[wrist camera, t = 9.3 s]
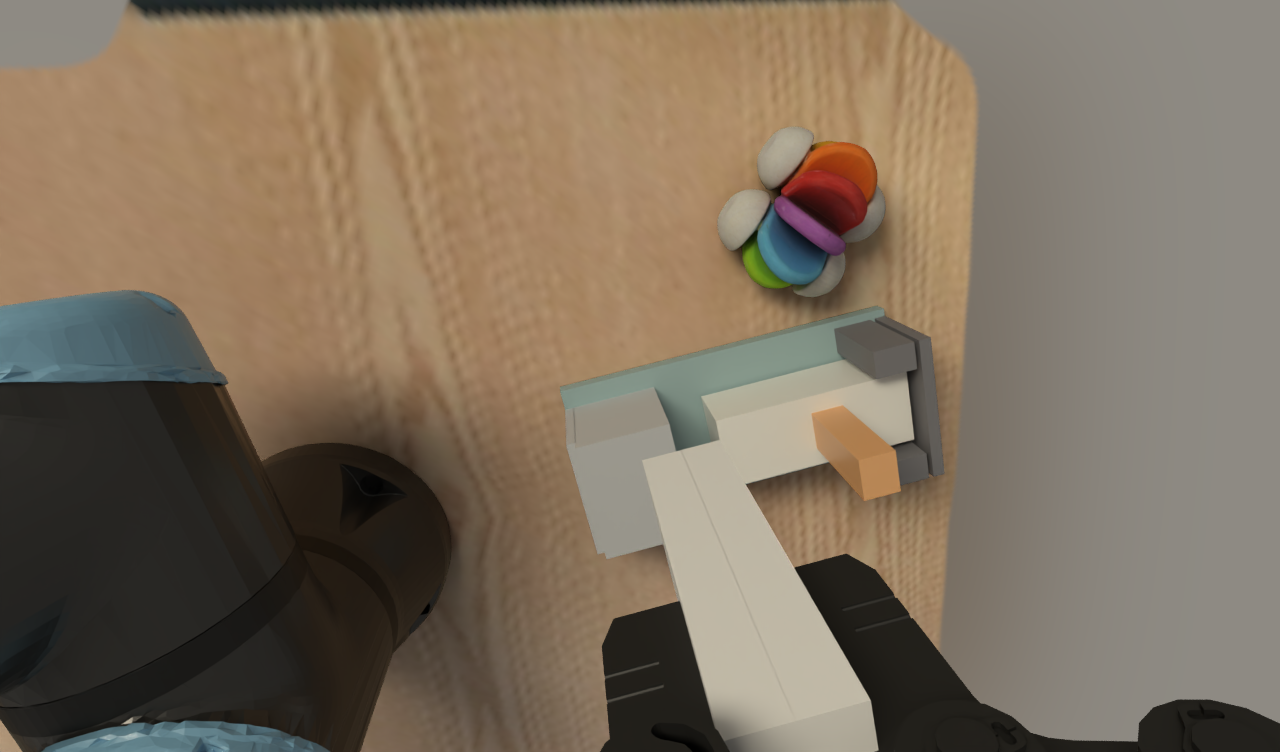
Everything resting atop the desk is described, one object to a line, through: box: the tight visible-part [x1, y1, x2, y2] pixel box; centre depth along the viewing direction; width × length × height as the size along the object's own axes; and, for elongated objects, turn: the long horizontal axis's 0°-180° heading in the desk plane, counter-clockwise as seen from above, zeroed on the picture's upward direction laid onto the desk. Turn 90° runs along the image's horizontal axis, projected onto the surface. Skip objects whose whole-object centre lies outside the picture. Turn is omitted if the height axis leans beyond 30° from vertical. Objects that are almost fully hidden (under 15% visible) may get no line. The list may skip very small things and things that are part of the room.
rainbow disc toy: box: [717, 127, 885, 297], centre depth 41 cm, size 8×10×7 cm
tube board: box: [560, 306, 944, 559], centre depth 44 cm, size 22×10×8 cm, turn 103°
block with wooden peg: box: [701, 359, 914, 501], centre depth 41 cm, size 12×5×12 cm, turn 103°
